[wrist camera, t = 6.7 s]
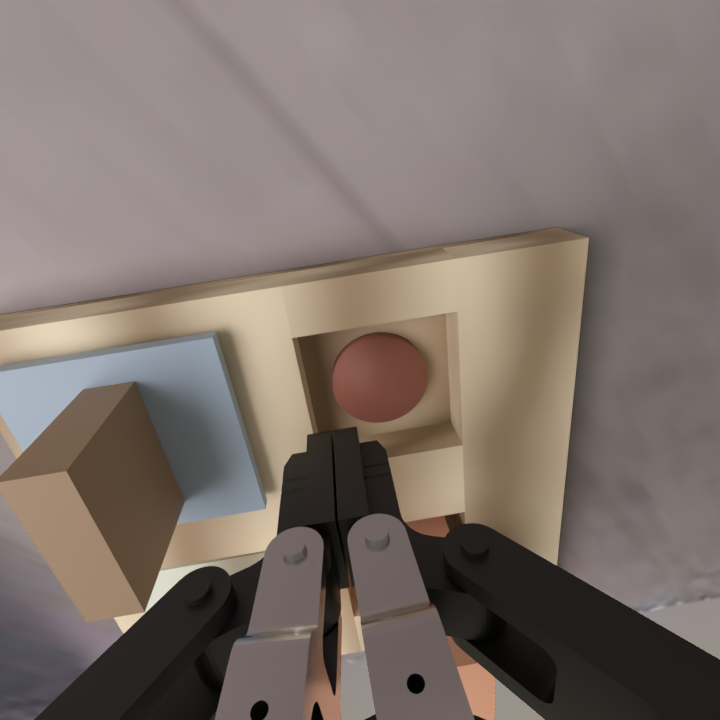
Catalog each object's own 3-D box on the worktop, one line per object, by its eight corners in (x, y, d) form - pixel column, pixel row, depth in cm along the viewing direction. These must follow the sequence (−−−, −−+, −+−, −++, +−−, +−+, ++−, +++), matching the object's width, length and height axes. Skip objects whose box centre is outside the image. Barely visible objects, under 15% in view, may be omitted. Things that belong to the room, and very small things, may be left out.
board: (557, 227, 16) (591, 238, 14) (534, 581, 24) (552, 618, 22) (-13, 316, 15) (-59, 340, 13) (168, 646, 24) (156, 690, 22)
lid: (216, 331, 14) (172, 414, 9) (267, 499, 17) (251, 617, 13) (-12, 367, 13) (-160, 468, 9) (83, 530, 17) (4, 661, 12)
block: (438, 500, 20) (495, 660, 14) (443, 560, 22) (494, 725, 16) (352, 515, 20) (370, 682, 14) (364, 574, 22) (384, 745, 16)
